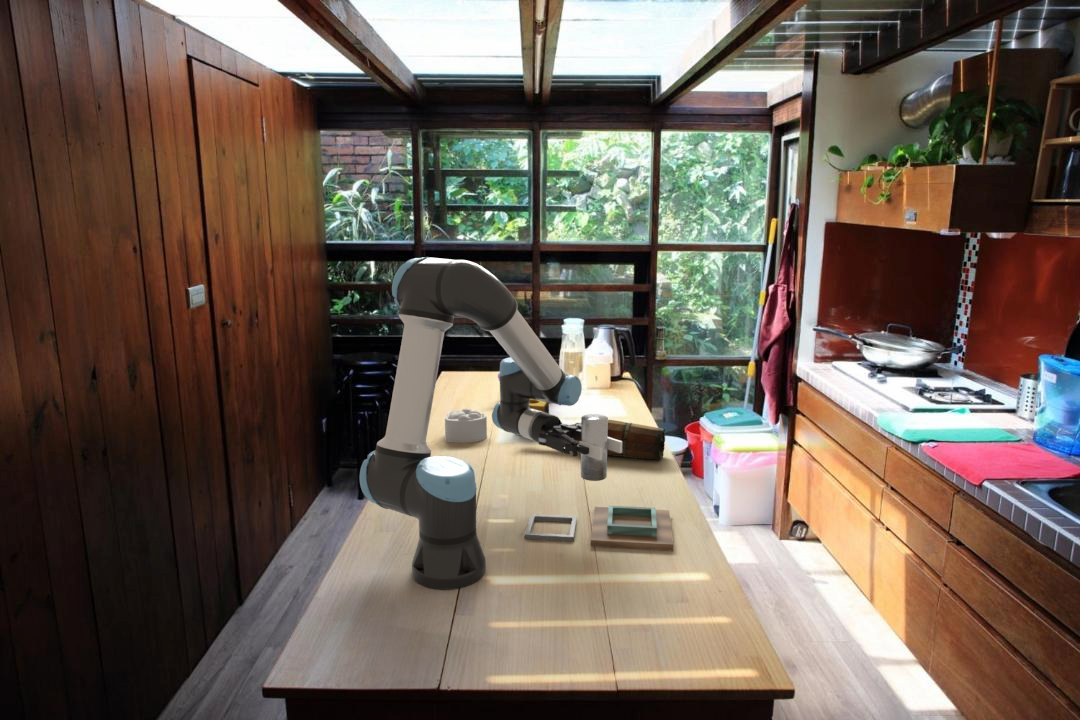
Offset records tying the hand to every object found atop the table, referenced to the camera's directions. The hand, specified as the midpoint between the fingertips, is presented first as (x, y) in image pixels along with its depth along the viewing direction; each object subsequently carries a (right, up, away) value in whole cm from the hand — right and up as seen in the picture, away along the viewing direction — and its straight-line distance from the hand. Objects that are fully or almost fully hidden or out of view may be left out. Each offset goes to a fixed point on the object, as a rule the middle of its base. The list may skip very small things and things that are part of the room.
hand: (611, 450), depth 165 cm
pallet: (+5, -19, +6) cm, 21 cm away
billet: (-4, -6, +5) cm, 9 cm away
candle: (-18, -3, +79) cm, 81 cm away
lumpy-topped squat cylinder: (-40, -5, +72) cm, 82 cm away
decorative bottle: (-1, -8, +59) cm, 59 cm away
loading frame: (-13, -19, +7) cm, 24 cm away
